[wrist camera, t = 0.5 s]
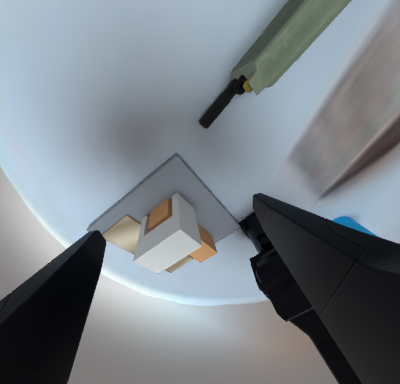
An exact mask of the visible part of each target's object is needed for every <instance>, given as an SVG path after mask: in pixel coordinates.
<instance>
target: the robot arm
mask: <svg viewBox="0 0 400 384" xmlns="http://www.w3.org/2000/svg"><path fill="white" fill-rule="evenodd" d="M253 209H254V211H255V214H253V215H251V216H250V217H248V218H247V219H245V220H244V221H242V222H240V223H239V225H240V227H241V230H242V231H243V232H244V233H245V234H246V235H247V236H248V237H249V238H250V240H251V241H252V242H253V244H254V246H255V248H256V250H257V251H258V253H259V254H257V255H256V256H254V257H252V258H250V262H251V266H252V269H253V273H254V276H255V279H256V282H257V285H258V288H259V289H260V291H262V292H263V293H264V294H265V295H266V297H267V298H268V299H270V300H271V302H272V304H273V306H274V308H275V310H276V312H277V314H278V315H279V316H280V317H281V318H282V319H284V320H285V321H290V322H291V323H293V324H294V325H295V326H297V327H298V328H299V329H300V330H302V331H303V332H304V333H306V334H307V335H308V336H309V337H310V339H311V340H312V341H313V343H314V345H315V346H316V348H317V349H318V351H319V353H320V354H321V356H322V357H323V359H324V361H325V362H326V364H327V366H328V367H329V369H330V370H331V372H332V374H333V375H334V377H335V378H336V380H337V382H338V383H339V384H400V244H398V243H395V242H392V241H389V240H386V239H383V238H380V237H377V236H373V235H370V234H367V233H364V232H361V231H359V230H356V229H353V228H350V227H347V226H344V225H342V224H339V223H336V222H334V221H331V220H329V219H325V218H323V217H321V216H318V215H316V214H313V213H310V212H308V211H305V210H303V209H300V208H298V207H295V206H292V205H290V204H287V203H285V202H282V201H280V200H277V199H274V198H272V197H269V196H267V195H264V194H262V193H258V194H254V195H253ZM105 247H106V239H105V238H104V237H103V235H102V234H101V232H100V231H99V230H93V231H90V232H88V233H87V234H85V235H84V236H83V237H82V238H80V239H79V240H78V241H76V242H75V243H74V244H73V245H71V246H70V247H69V248H67V249H66V250H65V251H64V252H62V253H61V254H60V255H58V256H57V257H56V258H55V259H53V260H52V261H51V262H50V263H48V264H47V265H46V266H44V267H43V268H42V269H40V270H39V271H38V272H37V273H35V274H34V275H33V276H32V277H30V278H29V279H28V280H26V281H25V282H24V283H23V284H21V285H20V286H19V287H17V288H16V289H15V290H14V291H12V293H10V294H8V295H7V296H6V297H4V298H3V299H2V300H1V301H0V384H67V383H68V380H69V377H70V373H71V370H72V367H73V363H74V360H75V356H76V353H77V350H78V346H79V342H80V340H81V336H82V332H83V329H84V326H85V323H86V319H87V316H88V313H89V309H90V306H91V303H92V299H93V296H94V292H95V289H96V285H97V282H98V279H99V276H100V272H101V268H102V263H103V258H104V253H105Z"/></svg>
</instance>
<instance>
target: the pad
mask: <svg viewBox="0 0 400 384" xmlns="http://www.w3.org/2000/svg"><path fill="white" fill-rule="evenodd" d="M140 227H141V223H140V222H139V221H137V220H136V219H134V218H133V217H131V216H130V215H128V214H127V215H125V216H124V217H123V218H122V219H120V220H119V221H118V222H117V223H115V224H114V225H113V226H111V227H110V228H109V229H108V230H106V231H105V232H104V233H103V234H102V235H103V237H104V238H105V239H106V240H107V241H109V242H111V243H113V244H115V245H117V246H119V247H121V248H123V249H125V250H127V251H129V252H131V253H133V254H135V250H136V246H137V241H138V236H139V232H140ZM192 259H193V257H191V256H190V255H188V256H186V257H184V258H183V259H181V260H180V261H178V262H176V263H175V264H173V265H172V266H170V267H169V268H167V269H165V270H166V271H168V272H170V273H171V272H173V271H175V270H176V269H178V268H180V267H181V266H183V265H184V264H186V263H188V262H189V261H191V260H192Z"/></svg>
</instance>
